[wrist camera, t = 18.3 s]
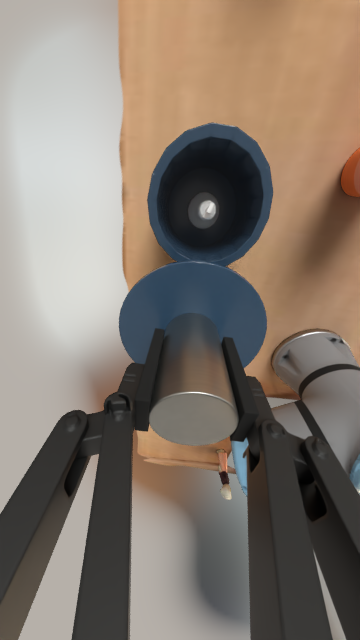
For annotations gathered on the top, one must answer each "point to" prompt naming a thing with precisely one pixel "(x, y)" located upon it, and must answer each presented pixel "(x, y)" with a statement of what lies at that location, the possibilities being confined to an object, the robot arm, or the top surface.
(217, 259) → the tin
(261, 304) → the tin lid
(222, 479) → the grandmother figurine
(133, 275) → the top surface
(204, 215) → the chess piece
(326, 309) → the top surface
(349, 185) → the cup with straw
